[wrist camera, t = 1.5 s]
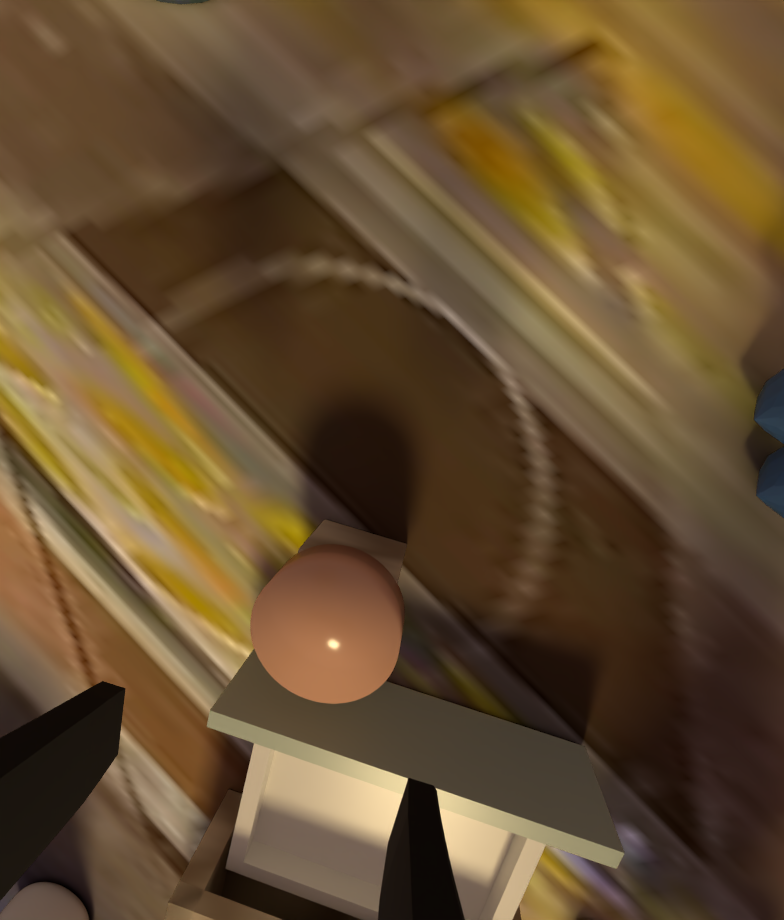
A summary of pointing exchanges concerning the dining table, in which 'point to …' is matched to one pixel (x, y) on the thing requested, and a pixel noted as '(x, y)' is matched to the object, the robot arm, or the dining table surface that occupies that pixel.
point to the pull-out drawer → (401, 793)
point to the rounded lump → (329, 624)
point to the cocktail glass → (183, 1)
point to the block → (360, 544)
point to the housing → (236, 883)
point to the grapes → (780, 415)
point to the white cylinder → (44, 904)
